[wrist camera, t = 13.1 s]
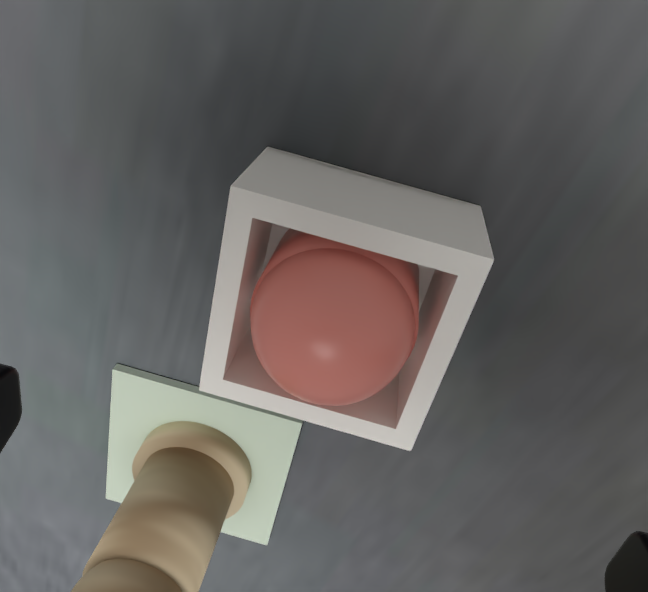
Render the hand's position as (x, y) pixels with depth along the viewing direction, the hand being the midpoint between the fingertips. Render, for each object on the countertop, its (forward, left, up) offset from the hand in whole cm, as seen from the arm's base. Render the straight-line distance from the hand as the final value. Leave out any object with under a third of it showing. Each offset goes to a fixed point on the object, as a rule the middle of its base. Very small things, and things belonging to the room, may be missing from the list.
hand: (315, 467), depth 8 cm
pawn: (+4, +14, -11) cm, 18 cm away
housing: (0, +3, -12) cm, 12 cm away
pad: (+4, +14, -12) cm, 19 cm away
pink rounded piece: (0, +3, -11) cm, 12 cm away
